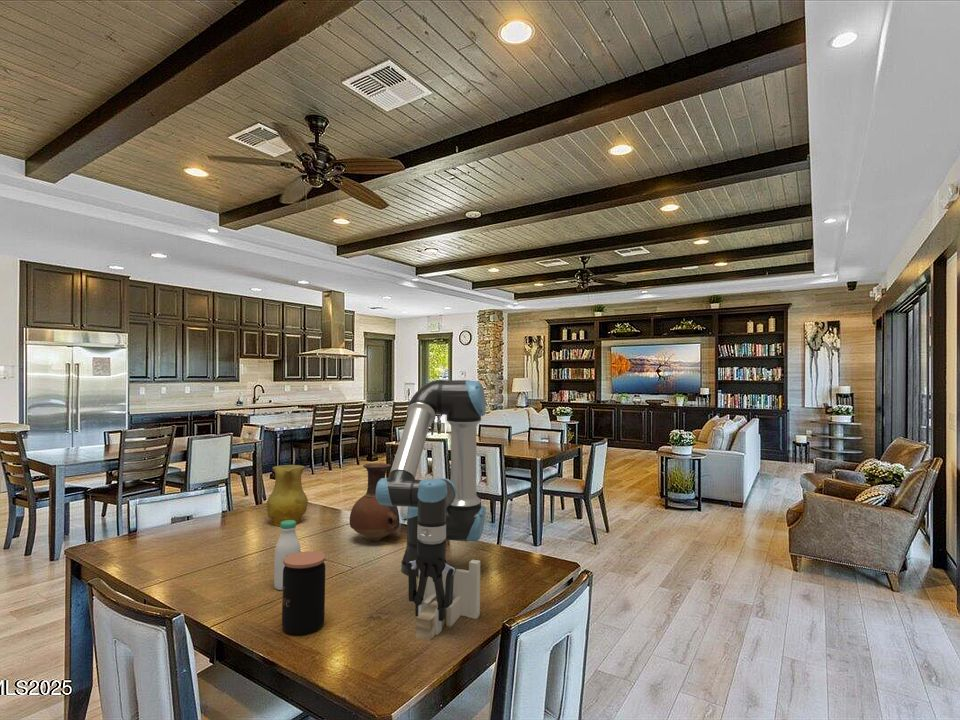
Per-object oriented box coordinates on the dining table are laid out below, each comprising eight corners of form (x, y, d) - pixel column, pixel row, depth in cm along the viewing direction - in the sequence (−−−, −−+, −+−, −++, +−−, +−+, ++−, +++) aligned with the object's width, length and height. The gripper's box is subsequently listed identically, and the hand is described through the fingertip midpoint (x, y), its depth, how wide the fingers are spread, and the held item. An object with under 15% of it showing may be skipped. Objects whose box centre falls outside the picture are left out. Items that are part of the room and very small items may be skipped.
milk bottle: (275, 592, 162) (276, 526, 163) (272, 583, 169) (273, 520, 169) (301, 588, 166) (303, 523, 166) (297, 579, 172) (299, 517, 173)
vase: (414, 539, 215) (415, 464, 216) (378, 553, 199) (379, 471, 199) (370, 528, 229) (372, 458, 230) (334, 540, 213) (335, 464, 213)
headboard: (407, 618, 146) (407, 562, 147) (421, 605, 155) (422, 552, 155) (467, 629, 140) (468, 571, 141) (479, 615, 149) (480, 560, 149)
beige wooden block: (430, 640, 134) (430, 619, 135) (415, 637, 136) (415, 616, 136) (452, 616, 148) (452, 597, 148) (438, 614, 149) (438, 595, 149)
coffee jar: (288, 617, 146) (289, 551, 146) (328, 616, 147) (329, 550, 147) (276, 637, 135) (278, 565, 136) (319, 635, 136) (321, 564, 136)
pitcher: (256, 526, 230) (261, 467, 232) (279, 516, 248) (284, 462, 250) (293, 529, 227) (298, 470, 229) (314, 520, 245) (318, 465, 247)
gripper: (395, 540, 139) (393, 631, 138) (456, 548, 133) (454, 643, 133) (408, 532, 146) (407, 619, 146) (467, 539, 140) (465, 630, 140)
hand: (429, 630), depth 139 cm, fingers open, 4 cm apart
